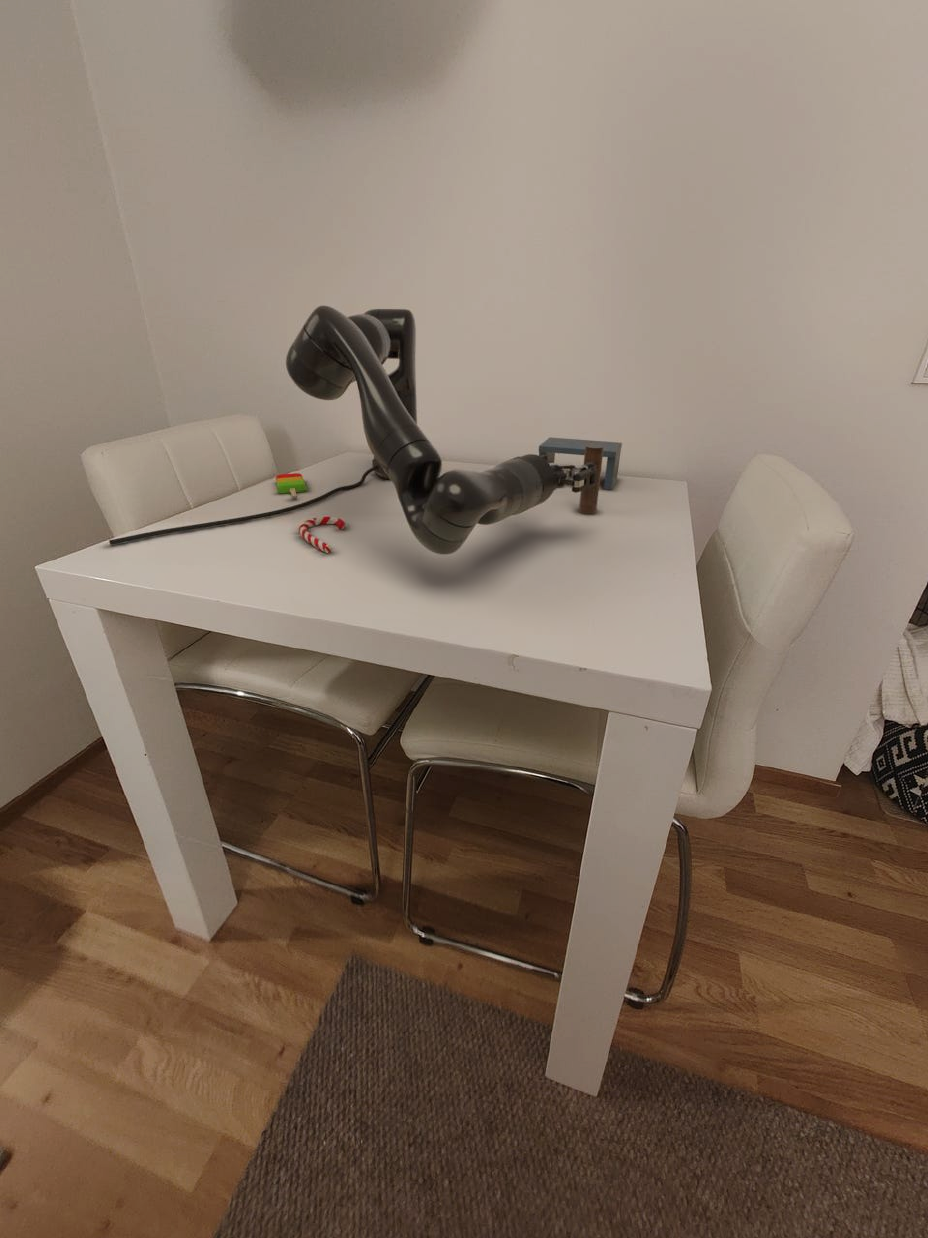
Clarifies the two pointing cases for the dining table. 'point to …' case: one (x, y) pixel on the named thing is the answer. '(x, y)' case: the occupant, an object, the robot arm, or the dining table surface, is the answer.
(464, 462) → the dining table surface
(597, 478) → the stick
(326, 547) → the candy cane
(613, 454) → the shelf
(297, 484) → the popsicle
